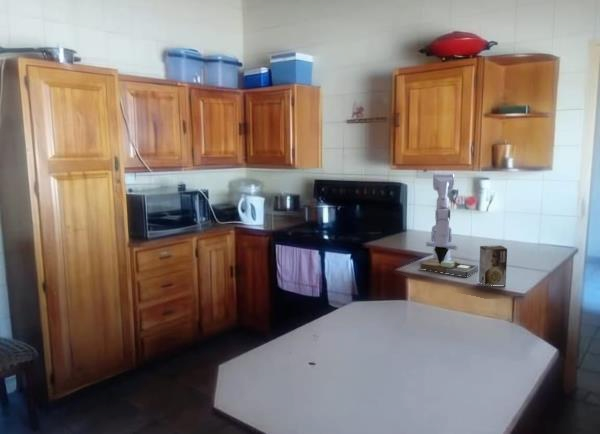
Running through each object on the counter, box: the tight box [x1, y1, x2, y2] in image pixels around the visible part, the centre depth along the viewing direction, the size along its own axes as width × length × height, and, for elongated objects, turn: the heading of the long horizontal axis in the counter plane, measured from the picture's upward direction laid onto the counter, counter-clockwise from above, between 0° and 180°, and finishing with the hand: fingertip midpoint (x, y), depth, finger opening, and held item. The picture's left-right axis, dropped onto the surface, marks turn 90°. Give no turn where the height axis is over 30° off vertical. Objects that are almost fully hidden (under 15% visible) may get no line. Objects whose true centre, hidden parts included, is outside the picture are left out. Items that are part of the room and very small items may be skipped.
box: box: [446, 262, 479, 278], centre depth 218 cm, size 14×10×2 cm
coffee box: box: [478, 245, 508, 287], centre depth 198 cm, size 9×6×16 cm
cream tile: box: [457, 265, 470, 271], centre depth 220 cm, size 4×4×2 cm
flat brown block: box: [420, 257, 458, 273], centre depth 225 cm, size 14×12×3 cm
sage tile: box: [441, 260, 455, 268], centre depth 219 cm, size 4×4×2 cm
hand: (441, 263), depth 221 cm, fingers closed
